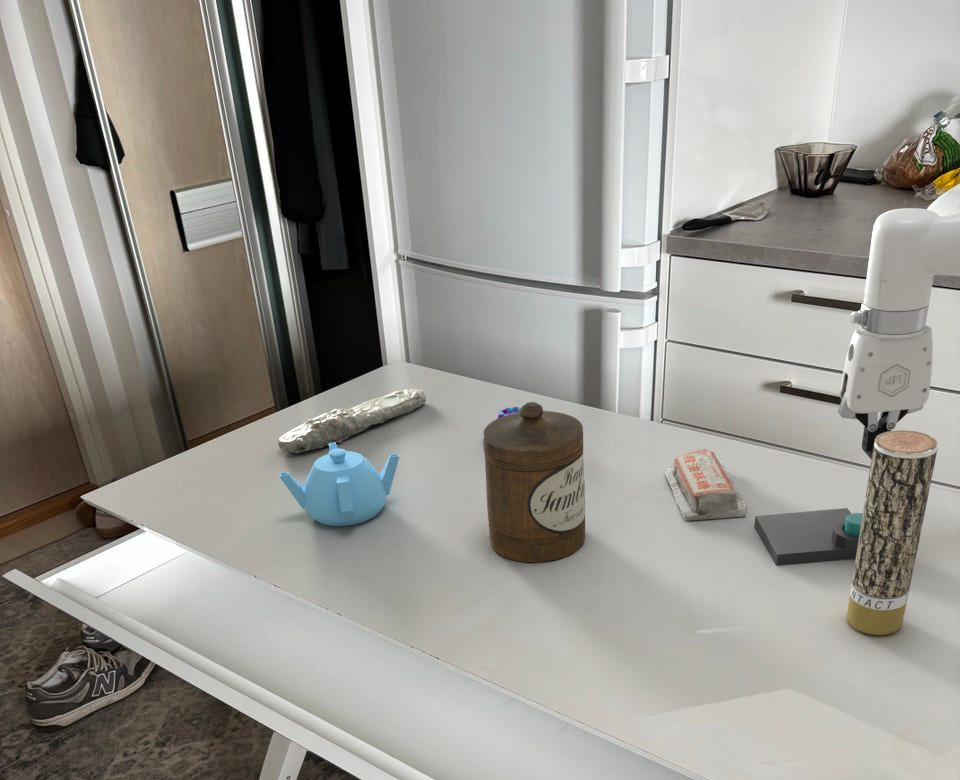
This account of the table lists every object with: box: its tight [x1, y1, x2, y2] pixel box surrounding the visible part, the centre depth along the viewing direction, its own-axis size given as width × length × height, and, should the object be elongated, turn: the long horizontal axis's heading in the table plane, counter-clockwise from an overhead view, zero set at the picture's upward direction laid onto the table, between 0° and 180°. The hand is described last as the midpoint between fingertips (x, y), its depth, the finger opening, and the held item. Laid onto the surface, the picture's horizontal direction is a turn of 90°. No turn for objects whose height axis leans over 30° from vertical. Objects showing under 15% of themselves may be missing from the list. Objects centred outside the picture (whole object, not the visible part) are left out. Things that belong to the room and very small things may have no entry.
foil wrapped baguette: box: [278, 388, 427, 454], centre depth 194 cm, size 35×5×10 cm
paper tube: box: [846, 429, 939, 636], centre depth 119 cm, size 7×7×25 cm
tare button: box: [844, 512, 863, 536], centre depth 139 cm, size 4×4×2 cm
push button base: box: [753, 507, 859, 567], centre depth 143 cm, size 15×13×4 cm
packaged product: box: [663, 448, 748, 521], centre depth 158 cm, size 18×5×10 cm
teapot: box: [278, 442, 400, 527], centre depth 162 cm, size 15×15×11 cm
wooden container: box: [482, 401, 586, 563], centre depth 146 cm, size 15×15×22 cm
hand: (873, 454), depth 132 cm, fingers closed
